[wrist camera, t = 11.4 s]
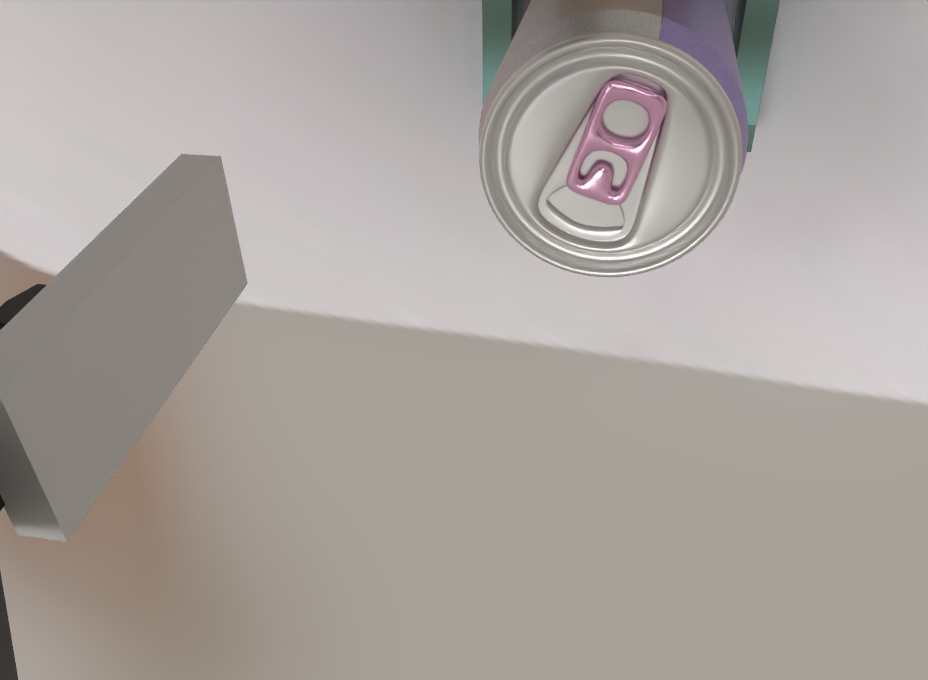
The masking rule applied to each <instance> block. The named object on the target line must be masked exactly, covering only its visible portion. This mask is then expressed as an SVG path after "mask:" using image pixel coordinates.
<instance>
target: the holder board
mask: <svg viewBox="0 0 928 680" xmlns="http://www.w3.org/2000/svg"><path fill="white" fill-rule="evenodd" d="M779 1H780V0H739V1H738V7H737V13H736V20H735V26H734V32H733V43H734V49H735V54H736V59H737V64H738V70H739V75H740V80H741V85H742V91H743V96H744V101H745V106H746V112H747V119H748V146H747V152H751V148H752V143H753V138H754V133H755V127H756V122H757V117H758V111H759V106H760V101H761V96H762V90H763V85H764V80H765V75H766V69H767V64H768V59H769V54H770V48H771V43H772V38H773V32H774V27H775V22H776V17H777V11H778V6H779ZM521 5H522V0H482V10H483V105H484V102H485V99H486V96H487V93H488V91H489V89H490V86H491V84H492V82H493V80H494V78H495V76H496V74H497V71H498V69H499V67H500V65H501V63H502V61H503V59H504V56H505V54H506V52H507V50H508V48H509V46H510V44H511V42H512V39H513V37H514V35H515V33H516V31H517V29H518V27H519V25H520V22H521Z"/></svg>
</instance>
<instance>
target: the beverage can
mask: <svg viewBox="0 0 928 680" xmlns="http://www.w3.org/2000/svg"><path fill="white" fill-rule="evenodd" d="M747 146H748V119H747V112H746V106H745V101H744V96H743V91H742V85H741V80H740V75H739V70H738V64H737V59H736V54H735V49H734V43H733V38H732V33H731V28H730V23H729V17H728V12H727V7H726V2H725V0H531V1H530V3H529V5H528V8H527V10H526V12H525V14H524V16H523V18H522V20H521V22H520V25H519V27H518V29H517V31H516V33H515V35H514V37H513V39H512V42H511V44H510V46H509V48H508V50H507V52H506V54H505V56H504V59H503V61H502V63H501V65H500V67H499V69H498V71H497V74H496V76H495V78H494V80H493V82H492V84H491V86H490V89H489V91H488V93H487V96H486V99H485V102H484V105H483V109H482V113H481V119H480V127H479V148H480V149H479V164H480V173H481V180H482V184H483V188H484V191H485V194H486V197H487V199H488V202H489V204H490V206H491V208H492V210H493V212H494V214H495V215H496V217H497V219H498V220H499V222H500V223H501V224H502V226H503V227H504V228H505V230H506V231H507V232H508V233H509V234H510V235H511V236H512V237H513V238H514V239H515V240H516V241H517V242H518V243H519V244H520V245H521V246H522V247H524V248H525V249H526V250H528V251H529V252H530V253H532V254H533V255H535V256H536V257H538V258H540V259H541V260H543V261H545V262H547V263H549V264H551V265H553V266H556V267H558V268H561V269H564V270H567V271H570V272H574V273H578V274H583V275H589V276H597V277H620V276H629V275H635V274H640V273H644V272H648V271H651V270H654V269H657V268H660V267H662V266H665V265H667V264H669V263H671V262H673V261H675V260H677V259H679V258H681V257H682V256H684V255H685V254H687V253H688V252H690V251H691V250H693V249H694V248H695V247H696V246H698V245H699V244H700V243H701V242H702V241H703V240H705V239H706V237H707V236H708V235H709V234H710V233H711V232H712V231H713V230H714V229H715V228H716V226H717V225H718V224H719V222H720V221H721V219H722V218H723V217H724V215H725V213H726V212H727V210H728V208H729V206H730V204H731V202H732V200H733V197H734V195H735V192H736V189H737V186H738V183H739V178H740V175H741V172H742V169H743V166H744V162H745V158H746V153H747Z"/></svg>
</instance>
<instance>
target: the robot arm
mask: <svg viewBox="0 0 928 680" xmlns="http://www.w3.org/2000/svg"><path fill="white" fill-rule="evenodd" d="M246 285H247V279H246V274H245V269H244V265H243V260H242V255H241V250H240V246H239V241H238V236H237V231H236V227H235V222H234V217H233V212H232V208H231V203H230V198H229V193H228V189H227V184H226V179H225V174H224V170H223V165H222V160H221V157H220V156H205V155H189V154H181V155H180V156H179V157H178V158H177V159H176V160H175V161H174V162H173V163H172V164H171V165H170V166H169V167H168V168H167V169H166V170H165V171H164V172H162V173H161V174H160V175H159V176H158V177H157V178H156V179H155V180H154V181H153V182H152V183H151V184H150V185H149V186H148V187H147V188H146V189H145V190H144V191H143V192H142V193H141V194H140V195H139V196H138V197H137V198H136V199H135V200H134V201H133V202H132V203H131V204H130V205H129V206H128V207H126V208H125V209H124V210H123V211H122V212H121V213H120V214H119V215H118V216H117V217H116V218H115V219H114V220H113V221H112V222H111V223H110V224H109V225H108V226H107V227H106V228H105V229H104V230H103V231H102V232H101V233H100V234H99V235H98V236H97V237H96V238H95V239H94V240H93V241H92V242H90V243H89V244H88V245H87V246H86V247H85V248H84V249H83V250H82V251H81V252H80V253H79V254H78V255H77V256H76V257H75V258H74V259H73V260H72V261H71V262H70V263H69V264H68V265H67V266H66V267H65V268H64V269H63V270H62V271H61V272H60V273H59V274H58V275H57V276H56V277H55V278H53V279H52V281H50V282H49V283H48V284H47V285H42V284H37V285H35V286H33V287H31V288H29V289H28V290H26V291H24V292H22V293H20V294H19V295H17V296H15V297H13V298H11V299H9V300H8V301H6V302H5V303H4V304H3V305H2V306H1V307H0V510H1V509H2V508H3V507H4V508H5V510H6V512H7V514H8V516H9V518H10V520H11V522H12V523H13V526H14V527H15V529H16V531H17V533H18V535H23V536H30V537H37V538H44V539H50V540H58V541H64V542H67V541H68V540H69V539H70V537H71V536H72V534H73V533H74V532H75V530H76V529H77V527H78V526H79V524H80V523H81V521H82V520H83V519H84V517H85V516H86V514H87V513H88V511H89V510H90V509H91V507H92V506H93V504H94V503H95V501H96V500H97V498H98V497H99V496H100V494H101V493H102V491H103V490H104V489H105V487H106V486H107V484H108V483H109V481H110V480H111V479H112V477H113V475H114V474H115V473H116V471H117V470H118V468H119V467H120V466H121V464H122V463H123V461H124V460H125V458H126V457H127V456H128V454H129V453H130V451H131V450H132V448H133V447H134V446H135V444H136V442H137V441H138V440H139V438H140V437H141V436H142V434H143V433H144V431H145V430H146V428H147V427H148V425H149V424H150V423H151V421H152V420H153V418H154V417H155V415H156V414H157V413H158V411H159V410H160V408H161V407H162V405H163V404H164V402H165V401H166V400H167V398H168V397H169V395H170V394H171V393H172V391H173V390H174V388H175V387H176V385H177V384H178V382H179V381H180V379H181V378H182V377H183V375H184V374H185V372H186V371H187V370H188V368H189V366H190V365H191V364H192V362H193V361H194V359H195V358H196V357H197V355H198V354H199V352H200V351H201V350H202V348H203V346H204V345H205V344H206V342H207V341H208V339H209V338H210V337H211V335H212V334H213V332H214V331H215V329H216V328H217V327H218V325H219V324H220V322H221V321H222V319H223V318H224V317H225V315H226V314H227V312H228V311H229V309H230V308H231V306H232V305H233V304H234V302H235V301H236V299H237V298H238V296H239V295H240V294H241V292H242V291H243V289H244V288H245V286H246ZM0 680H18V675H17V669H16V663H15V657H14V651H13V646H12V640H11V633H10V627H9V621H8V615H7V609H6V603H5V597H4V591H3V585H2V579H1V573H0Z"/></svg>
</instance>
